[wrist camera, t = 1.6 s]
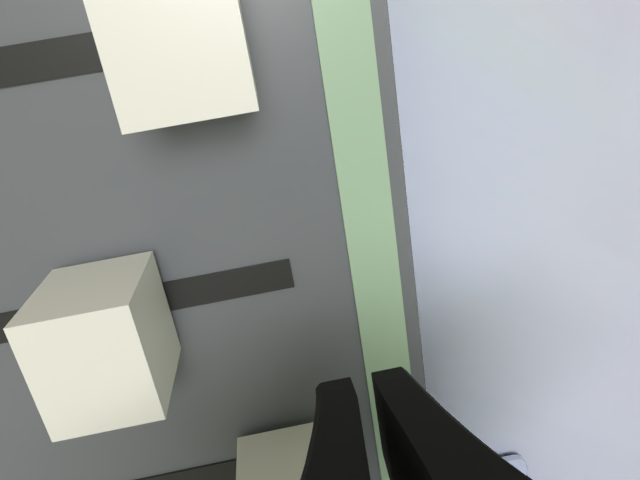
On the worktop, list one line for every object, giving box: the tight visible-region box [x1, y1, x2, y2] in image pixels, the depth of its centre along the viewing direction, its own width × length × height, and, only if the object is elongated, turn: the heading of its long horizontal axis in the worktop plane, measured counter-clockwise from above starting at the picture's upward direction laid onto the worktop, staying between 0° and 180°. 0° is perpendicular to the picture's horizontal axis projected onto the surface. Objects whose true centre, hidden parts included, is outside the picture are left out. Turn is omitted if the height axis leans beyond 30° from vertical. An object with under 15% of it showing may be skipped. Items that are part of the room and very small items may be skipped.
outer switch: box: [83, 0, 259, 135], centre depth 13 cm, size 4×3×4 cm
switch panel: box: [0, 0, 426, 480], centre depth 18 cm, size 22×19×2 cm
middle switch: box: [3, 251, 181, 442], centre depth 15 cm, size 4×3×4 cm
